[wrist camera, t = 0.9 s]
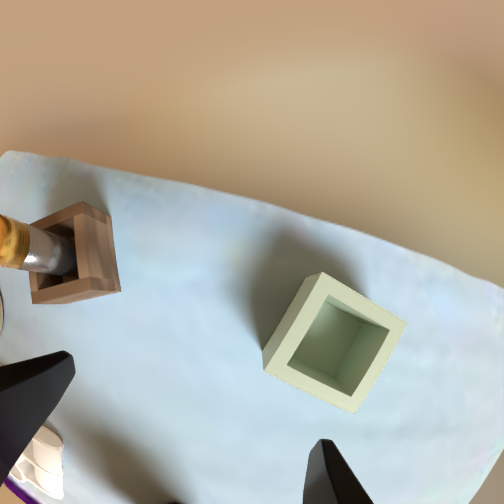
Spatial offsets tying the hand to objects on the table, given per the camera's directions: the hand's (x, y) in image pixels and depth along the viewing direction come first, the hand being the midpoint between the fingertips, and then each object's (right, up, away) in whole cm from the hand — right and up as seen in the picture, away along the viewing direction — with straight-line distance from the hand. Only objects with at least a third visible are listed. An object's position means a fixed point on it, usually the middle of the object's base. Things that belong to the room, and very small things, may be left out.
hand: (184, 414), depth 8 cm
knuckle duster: (-28, -20, +13) cm, 36 cm away
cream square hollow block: (+8, -2, +14) cm, 16 cm away
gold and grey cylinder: (-14, +4, +14) cm, 20 cm away
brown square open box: (-14, +4, +15) cm, 21 cm away
